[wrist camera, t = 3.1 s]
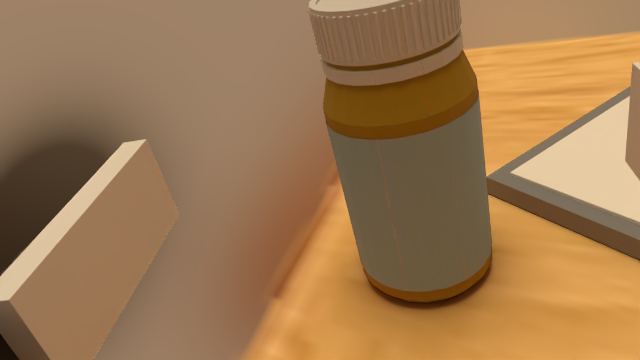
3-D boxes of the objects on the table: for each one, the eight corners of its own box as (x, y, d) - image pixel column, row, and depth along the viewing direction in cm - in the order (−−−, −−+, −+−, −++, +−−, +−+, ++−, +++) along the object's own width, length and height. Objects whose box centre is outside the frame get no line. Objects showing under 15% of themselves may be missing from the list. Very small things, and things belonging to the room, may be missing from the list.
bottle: (495, 224, 31) (473, -48, 23) (490, 314, 25) (458, -4, 18) (379, 224, 33) (325, -20, 26) (351, 305, 28) (273, 26, 20)
